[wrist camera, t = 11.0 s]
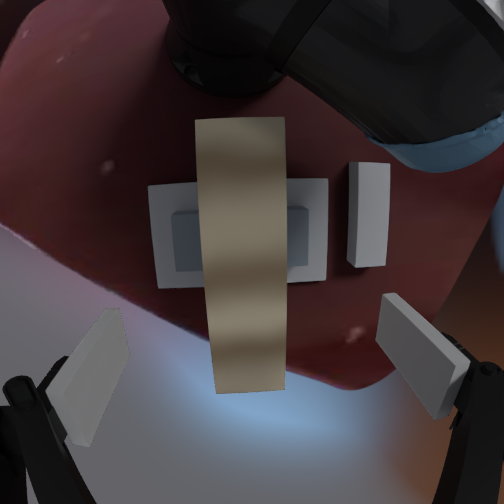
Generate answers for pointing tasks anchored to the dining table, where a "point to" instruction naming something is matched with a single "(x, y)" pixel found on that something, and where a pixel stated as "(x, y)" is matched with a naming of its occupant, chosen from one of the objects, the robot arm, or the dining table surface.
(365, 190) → the slab
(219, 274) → the pine batten
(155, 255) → the fulcrum stand
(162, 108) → the dining table surface
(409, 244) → the dining table surface
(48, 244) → the dining table surface
